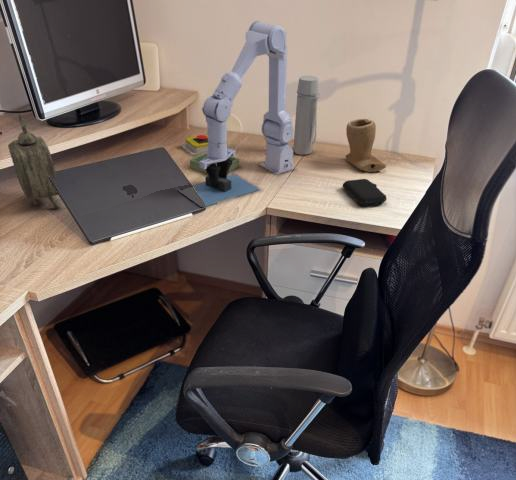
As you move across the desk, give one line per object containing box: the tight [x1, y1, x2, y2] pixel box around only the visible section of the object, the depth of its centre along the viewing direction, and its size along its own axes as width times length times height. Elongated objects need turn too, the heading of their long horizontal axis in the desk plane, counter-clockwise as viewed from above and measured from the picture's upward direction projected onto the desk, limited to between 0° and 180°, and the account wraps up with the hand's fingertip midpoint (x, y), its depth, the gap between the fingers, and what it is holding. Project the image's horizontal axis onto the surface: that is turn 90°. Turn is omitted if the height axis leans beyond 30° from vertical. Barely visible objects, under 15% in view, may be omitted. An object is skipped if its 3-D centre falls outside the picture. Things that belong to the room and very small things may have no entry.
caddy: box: [189, 152, 240, 174], centre depth 171 cm, size 12×12×3 cm
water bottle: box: [292, 75, 321, 156], centre depth 176 cm, size 9×8×25 cm
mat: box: [192, 173, 260, 209], centre depth 158 cm, size 14×22×1 cm, turn 128°
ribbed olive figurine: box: [7, 113, 60, 210], centre depth 140 cm, size 14×9×25 cm, turn 30°
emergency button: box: [181, 133, 229, 156], centre depth 183 cm, size 9×4×15 cm
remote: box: [204, 175, 231, 192], centre depth 159 cm, size 8×3×3 cm, turn 53°
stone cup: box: [344, 118, 387, 173], centre depth 172 cm, size 15×12×15 cm
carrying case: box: [342, 178, 387, 207], centre depth 157 cm, size 11×3×15 cm
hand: (218, 184), depth 159 cm, fingers closed on remote, 3 cm apart
